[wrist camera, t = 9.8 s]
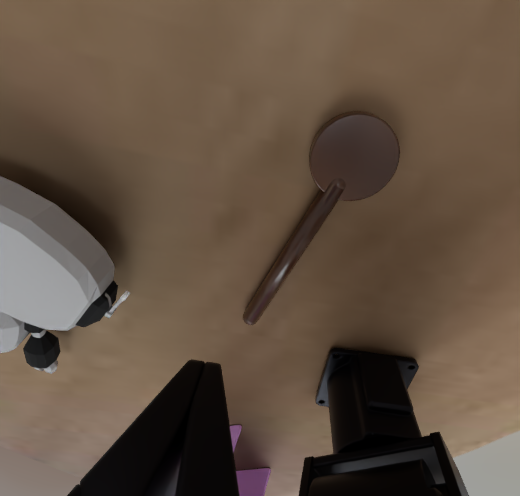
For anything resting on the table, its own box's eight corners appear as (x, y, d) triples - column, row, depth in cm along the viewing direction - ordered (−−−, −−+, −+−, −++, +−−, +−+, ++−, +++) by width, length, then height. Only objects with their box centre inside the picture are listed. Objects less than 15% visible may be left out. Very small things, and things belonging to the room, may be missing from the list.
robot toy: (78, 349, 28) (161, 250, 21) (42, 398, 25) (128, 298, 17) (-66, 269, 25) (-29, 116, 18) (-132, 310, 21) (-121, 140, 14)
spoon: (275, 328, 24) (274, 339, 23) (220, 304, 23) (217, 315, 22) (413, 137, 16) (421, 141, 15) (338, 94, 16) (341, 96, 15)
